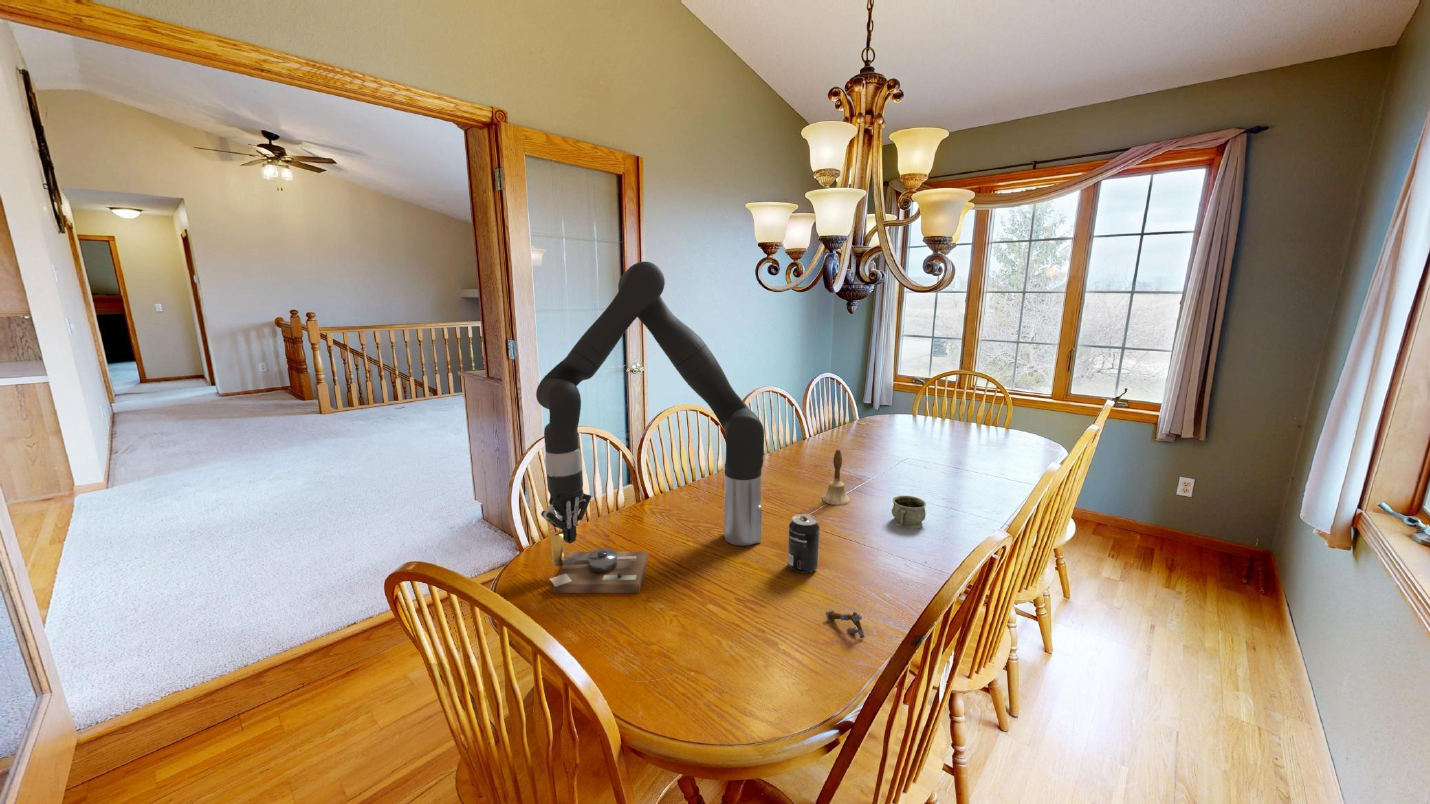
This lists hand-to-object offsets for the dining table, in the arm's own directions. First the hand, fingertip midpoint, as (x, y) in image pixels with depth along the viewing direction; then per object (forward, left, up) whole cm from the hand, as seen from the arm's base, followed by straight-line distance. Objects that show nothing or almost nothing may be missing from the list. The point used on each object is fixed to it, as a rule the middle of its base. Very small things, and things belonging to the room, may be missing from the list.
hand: (570, 541), depth 118 cm
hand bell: (-70, -40, -7) cm, 81 cm away
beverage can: (-53, 0, -7) cm, 53 cm away
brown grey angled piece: (-57, +22, -7) cm, 62 cm away
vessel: (-86, -24, -7) cm, 89 cm away
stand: (-8, +3, -7) cm, 11 cm away
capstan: (-6, +3, -4) cm, 8 cm away
